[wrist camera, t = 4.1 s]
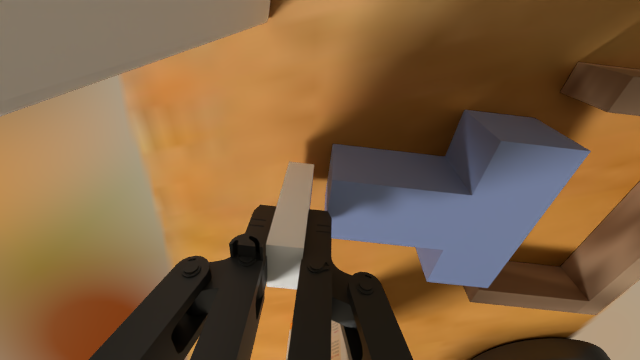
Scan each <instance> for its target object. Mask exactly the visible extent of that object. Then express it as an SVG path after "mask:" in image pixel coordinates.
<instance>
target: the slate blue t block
mask: <svg viewBox="0 0 640 360" xmlns="http://www.w3.org/2000/svg"><path fill="white" fill-rule="evenodd" d="M589 153H590V151H589V150H588V149H586V148H584V147H583V146H581V145H579V144H578V143H576V142H574V141H573V140H571V139H569V138H568V137H566V136H564V135H563V134H561V133H559V132H558V131H556V130H554V129H553V128H551V127H549V126H547V125H546V124H544V123H542V122H541V121H539V120H537V119H536V118H531V117H523V116H514V115H506V114H498V113H489V112H481V111H472V110H464V112H463V115H462V117H461V119H460V122H459V124H458V127H457V129H456V131H455V134H454V136H453V139H452V141H451V143H450V146H449V148H448V151H447V153H446V155H445V156H436V155H427V154H419V153H410V152H401V151H392V150H384V149H375V148H366V147H357V146H349V145H340V144H333V146H332V153H331V160H330V167H329V174H328V180H327V187H326V194H325V211H328V212H329V214H330V216H331V218H332V231H331V238H335V239H344V240H353V241H363V242H372V243H382V244H391V245H400V246H410V247H416V250H417V254H418V257H419V260H420V263H421V266H422V269H423V272H424V275H425V278H426V281H427V282H434V283H443V284H453V285H463V286H472V287H482V288H488V287H489V286H490V285H491V283H492V282H493V281H494V279H495V278H496V277H497V275H498V274H499V273H500V271H501V270H502V269H503V267H504V266H505V265H506V263H507V262H508V261H509V259H510V258H511V257H512V255H513V254H514V253H515V251H516V250H517V249H518V247H519V246H520V245H521V243H522V242H523V241H524V239H525V238H526V237H527V235H528V234H529V233H530V231H531V230H532V229H533V227H534V226H535V225H536V223H537V222H538V221H539V219H540V218H541V217H542V215H543V214H544V213H545V211H546V210H547V209H548V207H549V206H550V205H551V203H552V202H553V201H554V199H555V198H556V197H557V195H558V194H559V193H560V191H561V190H562V189H563V187H564V186H565V185H566V183H567V182H568V181H569V179H570V178H571V177H572V175H573V174H574V173H575V171H576V170H577V169H578V167H579V166H580V165H581V163H582V162H583V161H584V159H585V158H586V157H587V155H588V154H589Z"/></svg>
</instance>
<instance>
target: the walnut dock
mask: <svg viewBox="0 0 640 360" xmlns="http://www.w3.org/2000/svg"><path fill="white" fill-rule="evenodd" d="M561 93H563V94H565V95H568V96H570V97H573V98H575V99H577V100H580V101H582V102H585V103H587V104H589V105H592V106H594V107H597V108H599V109H601V110H604V111H606V112H611V113H619V114H627V115H636V116H640V70H639V69H631V68H623V67H615V66H607V65H599V64H591V63H582V62H578V63H577V65H576V67H575V68H574V70H573V72H572V73H571V75H570V77H569V78H568V80H567V82H566V83H565V85H564V87H563V88H562V90H561ZM638 280H640V182H639V183H638V184H637V185H636V186H635V187H634V188H633V189H632V190H631V191H630V192H629V193H628V194H627V196H626V197H625V198H624V199H623V200H622V201H621V202H620V203H619V204H618V205H617V206H616V207H615V208H614V209H613V211H612V212H611V213H610V214H609V215H608V216H607V217H606V218H605V219H604V220H603V221H602V222H601V223H600V224H599V226H598V227H597V228H596V229H595V230H594V231H593V232H592V233H591V234H590V235H589V236H588V237H587V238H586V240H585V241H584V242H583V243H582V244H581V245H580V246H579V247H578V248H577V249H576V250H575V251H574V252H573V253H572V255H571V256H570V257H569V258H568V259H567V260H566V261H565V262H564V263H563V264H562V265H561V266H560V267H559V266H550V265H540V264H531V263H522V262H512V261H508V262H507V263H506V265H505V266H504V267H503V269H502V270H501V271H500V273H499V274H498V275H497V277H496V278H495V279H494V281H493V282H492V283H491V285H490V286H489V287H488V288H482V287H472V286H463V287H464V289H465V292H466V294H467V296H468V298H469V301H470V302H475V303H485V304H494V305H504V306H514V307H523V308H533V309H543V310H552V311H562V312H572V313H581V314H591V315H596V314H598V313H599V312H600V311H601V310H603V309H604V308H605V307H606V306H607V305H609V304H610V303H611V302H612V301H614V300H615V299H616V298H617V297H619V296H620V295H621V294H622V293H624V292H625V291H626V290H627V289H629V288H630V287H631V286H632V285H634V284H635V283H636V282H637V281H638Z"/></svg>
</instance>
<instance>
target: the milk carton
mask: <svg viewBox="0 0 640 360" xmlns="http://www.w3.org/2000/svg"><path fill="white" fill-rule="evenodd" d="M269 9H270V0H0V116H2V115H5V114H8V113H11V112H14V111H17V110H19V109H22V108H25V107H28V106H31V105H34V104H37V103H39V102H42V101H45V100H48V99H51V98H53V97H56V96H59V95H62V94H65V93H68V92H70V91H73V90H76V89H79V88H82V87H85V86H87V85H90V84H93V83H96V82H99V81H102V80H105V79H107V78H110V77H113V76H116V75H119V74H122V73H124V72H127V71H130V70H133V69H136V68H139V67H141V66H144V65H147V64H150V63H153V62H156V61H158V60H161V59H164V58H167V57H170V56H173V55H176V54H178V53H181V52H184V51H187V50H190V49H193V48H195V47H198V46H201V45H204V44H207V43H210V42H212V41H215V40H218V39H221V38H224V37H227V36H229V35H232V34H235V33H238V32H241V31H244V30H246V29H249V28H252V27H255V26H258V25H261V24H263V23H266V22H267V20H268V16H269Z"/></svg>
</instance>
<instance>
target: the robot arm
mask: <svg viewBox="0 0 640 360" xmlns="http://www.w3.org/2000/svg"><path fill="white" fill-rule="evenodd" d="M313 172H314V164H306V163H296V162H289V165H288V168H287V172H286V175H285V179H284V182H283V186H282V189H281V193H280V196H279V200H278V203H277V207H276V206H267V205H260V206H259V207H257V208H256V209H255V210H254V212H253V214H252V217H251V220H250V222H249V225H248V227H247V230H246V232H245V234H241V235H238V236H237V237H235V238H234V239H232V241H231V242H230V243H229V247H230V254H231V257H230V258H227V259H225V260H221V261H215V262H208V260H207V259H205V258H204V257H201V256H192V257H188V258H186V259H183V260H182V261H180V262H179V263H178V264H177V265H176V266H175V267H174V268H173V269H172V270H171V271H170V272H169V273H168V274H167V276H166V277H165V278H164V279H163V280H162V281H161V282H160V283H159V284H158V285H157V286H156V287H155V289H154V290H153V291H152V292H151V293H150V294H149V295H148V296H147V297H146V298H145V299H144V300H143V302H142V303H141V304H140V305H139V306H138V307H137V308H136V309H135V310H134V311H133V312H132V313H131V315H130V316H129V317H128V318H127V319H126V320H125V321H124V322H123V323H122V324H121V325H120V326H119V328H117V330H116V331H115V332H114V333H113V334H112V335H111V336H110V337H109V338H108V339H107V341H105V343H104V344H103V345H102V346H101V347H100V348H99V349H98V350H97V351H96V352H95V353H94V354H93V356H92V357H91V358H90V359H89V360H184V359H185V357H186V356H187V354H188V353H189V351H190V350H191V348H192V347H193V345H194V343H195V342H196V340H197V339H198V337H199V339H198V341H197V344H196V346H195V349H194V351H193V354H192V356H191V359H190V360H250V358H251V353H252V349H253V345H254V341H255V336H256V332H257V328H258V324H259V319H260V315H261V311H262V307H263V302H264V290H265V286H266V282H267V287H277V288H287V289H297V293H296V301H295V308H294V315H293V323H292V330H291V337H290V345H289V352H288V359H287V360H331V320H332V321H335V322H337V323H339V324H340V326H341V330H342V334H343V338H344V342H345V346H346V350H347V354H348V358H349V360H413V358H412V356H411V353H410V351H409V349H408V346H407V344H406V342H405V339H404V337H403V334H402V332H401V330H400V327H399V325H398V323H397V320H396V318H395V316H394V313H393V311H392V309H391V306H390V304H389V301H388V299H387V297H386V294H385V292H384V290H383V287H382V285H381V283H380V282H379V280H378V279H377V278H376V277H375V276H373V275H372V274H369V273H367V272H359V273H355V274H354V275H353V276H352V275H349V274H347V273H344V272H342V271H341V270H339V269H338V268H337V267H336V266H335V265H334V264H333V262H332V259H331V231H332V218H331V216H330V214H329V212H328V211H321V210H311V209H310V203H311V193H312V183H313ZM472 360H610V358H609V357H608V356H607V354H606V353H605V352H604V351H603V350H602V349H601V348H600V347H598V346H596V345H594V344H591V343H588V342H584V341H580V340H574V339H561V338H548V339H535V340H527V341H521V342H516V343H511V344H507V345H504V346H500V347H497V348H494V349H492V350H489V351H487V352H485V353H482V354H480V355H479V356H477V357H475V358H474V359H472Z"/></svg>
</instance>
